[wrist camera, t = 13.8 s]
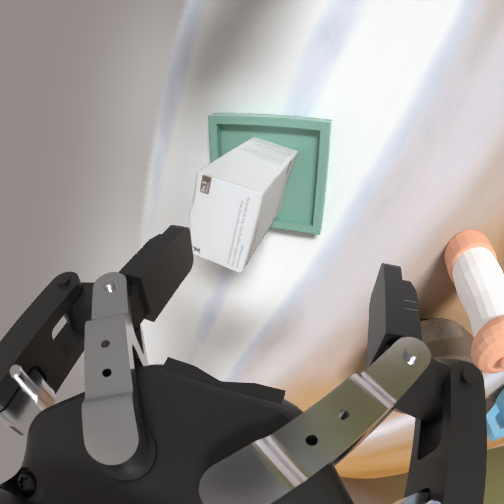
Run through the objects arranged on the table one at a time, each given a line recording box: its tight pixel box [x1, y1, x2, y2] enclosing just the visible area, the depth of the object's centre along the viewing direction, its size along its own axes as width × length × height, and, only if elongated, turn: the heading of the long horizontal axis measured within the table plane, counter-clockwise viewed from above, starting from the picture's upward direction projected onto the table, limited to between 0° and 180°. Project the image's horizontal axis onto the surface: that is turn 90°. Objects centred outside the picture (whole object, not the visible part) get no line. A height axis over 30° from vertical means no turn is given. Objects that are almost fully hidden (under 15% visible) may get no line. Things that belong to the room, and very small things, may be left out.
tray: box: [208, 113, 331, 235], centre depth 37 cm, size 14×14×2 cm
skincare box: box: [189, 137, 298, 273], centre depth 31 cm, size 8×6×15 cm
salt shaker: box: [444, 230, 504, 373], centre depth 27 cm, size 7×7×19 cm
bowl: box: [393, 318, 482, 414], centre depth 41 cm, size 17×18×10 cm
